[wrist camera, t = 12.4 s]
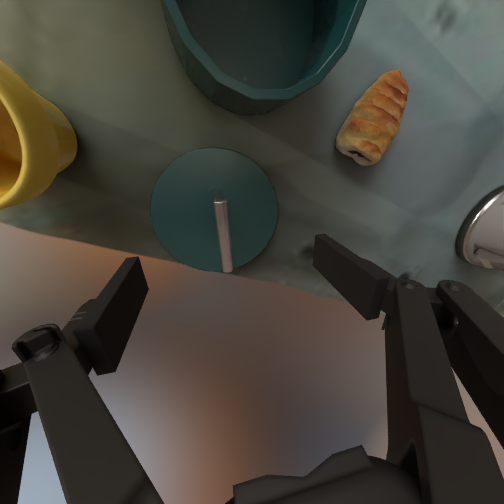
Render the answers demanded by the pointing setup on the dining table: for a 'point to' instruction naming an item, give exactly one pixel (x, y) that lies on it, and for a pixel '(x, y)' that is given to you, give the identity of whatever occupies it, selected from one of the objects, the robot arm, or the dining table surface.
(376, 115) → the pastry
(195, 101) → the dining table surface
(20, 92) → the flower pot
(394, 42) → the dining table surface
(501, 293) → the dining table surface
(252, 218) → the lid
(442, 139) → the dining table surface
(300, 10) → the pot
